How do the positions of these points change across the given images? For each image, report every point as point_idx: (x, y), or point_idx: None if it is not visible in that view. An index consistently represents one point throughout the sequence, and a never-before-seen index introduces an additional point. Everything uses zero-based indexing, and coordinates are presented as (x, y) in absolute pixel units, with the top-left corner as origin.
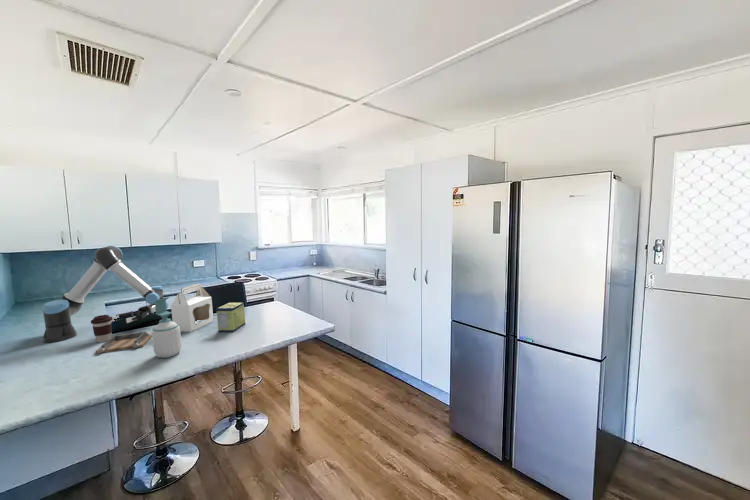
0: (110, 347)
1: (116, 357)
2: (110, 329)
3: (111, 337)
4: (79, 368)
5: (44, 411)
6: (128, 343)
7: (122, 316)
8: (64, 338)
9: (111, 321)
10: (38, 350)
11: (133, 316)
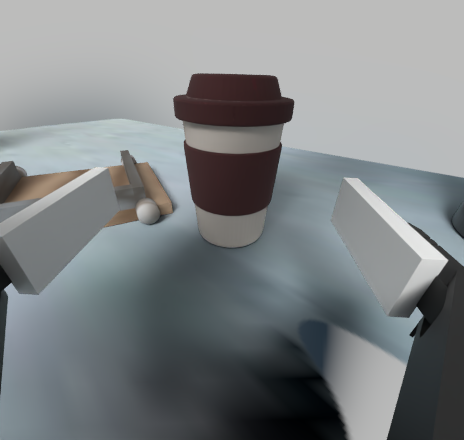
0: (112, 171)
1: (69, 161)
2: (189, 179)
3: (202, 233)
4: (130, 146)
5: (98, 121)
6: (53, 185)
7: (425, 349)
8: (458, 221)
9: (339, 228)
10: (372, 180)
11: (32, 211)
